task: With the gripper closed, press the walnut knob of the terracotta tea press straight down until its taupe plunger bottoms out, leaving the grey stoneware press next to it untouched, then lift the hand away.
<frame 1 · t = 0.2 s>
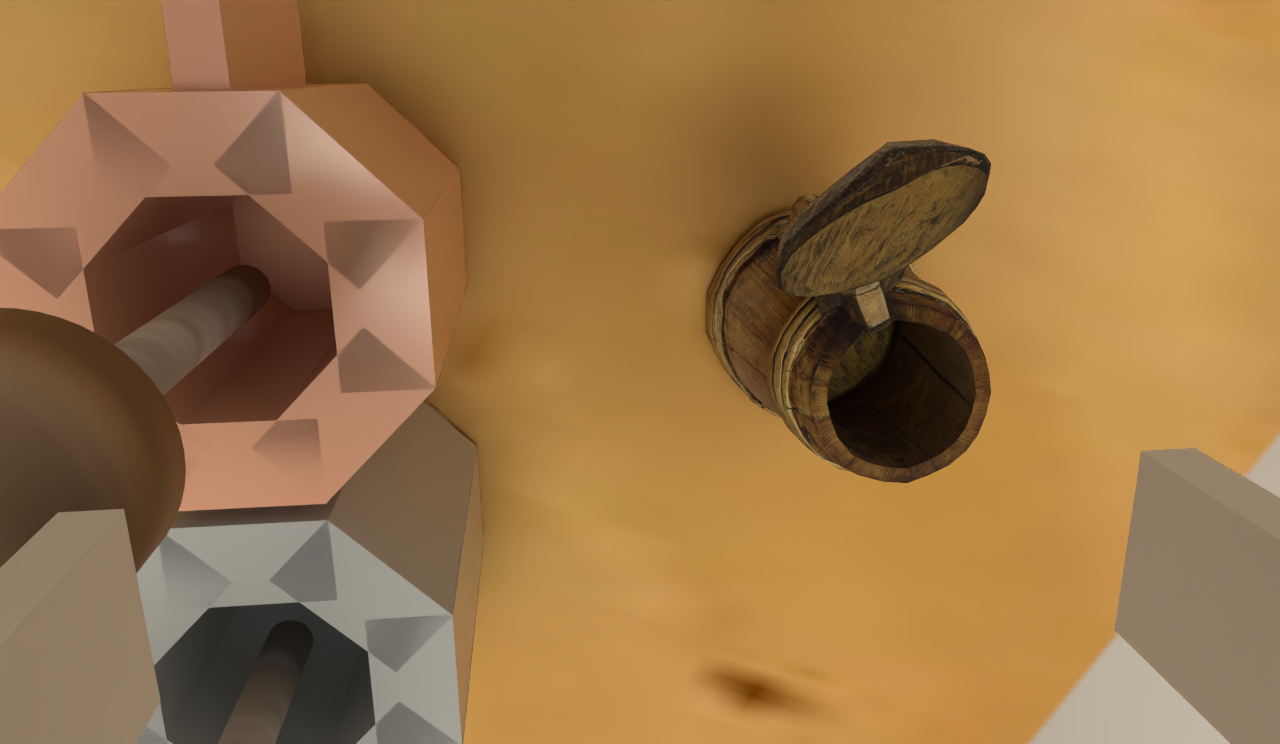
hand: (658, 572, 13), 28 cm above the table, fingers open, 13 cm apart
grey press: (350, 498, 42), on the table
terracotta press: (322, 229, 39), on the table
taupe plunger: (138, 370, 21), point 19 cm above the table, slide at 0.0 cm
wooden mug: (792, 264, 41), on the table
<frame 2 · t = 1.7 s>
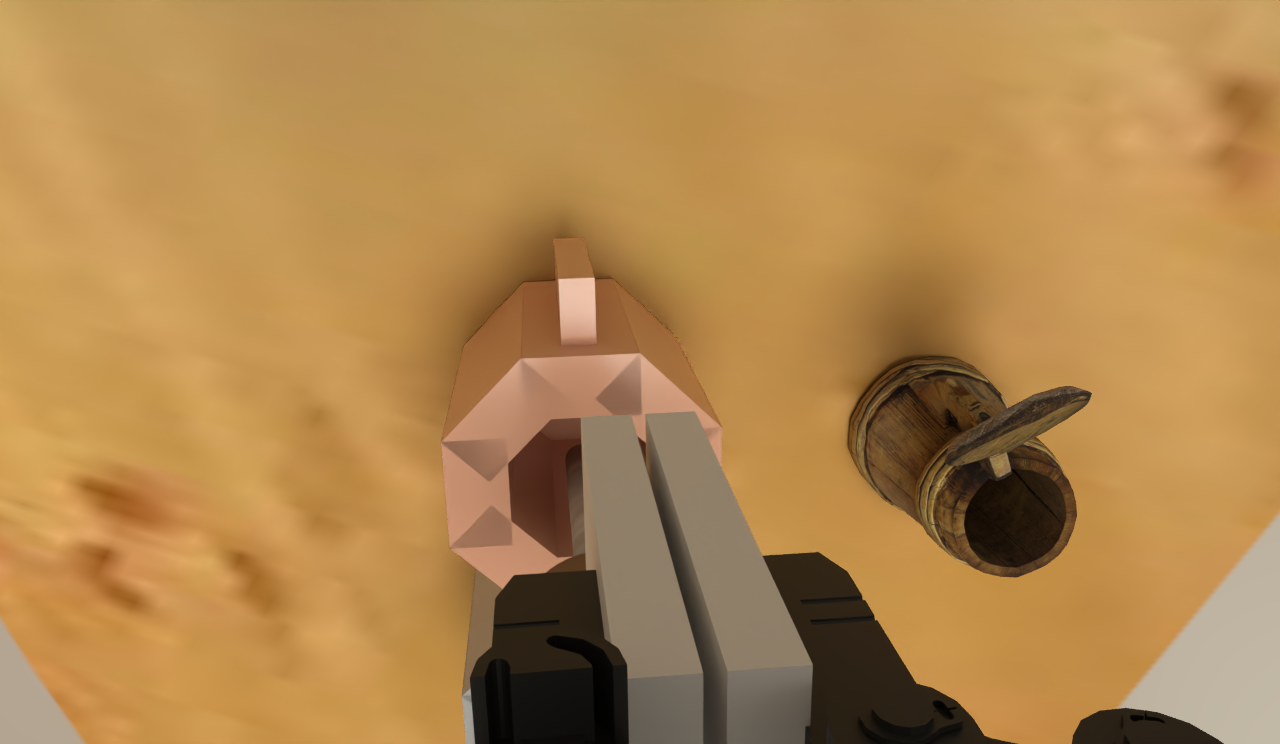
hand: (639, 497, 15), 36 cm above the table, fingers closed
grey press: (579, 571, 56), on the table
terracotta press: (571, 379, 53), on the table
taupe plunger: (592, 548, 34), point 19 cm above the table, slide at 0.0 cm
wooden mug: (913, 396, 55), on the table
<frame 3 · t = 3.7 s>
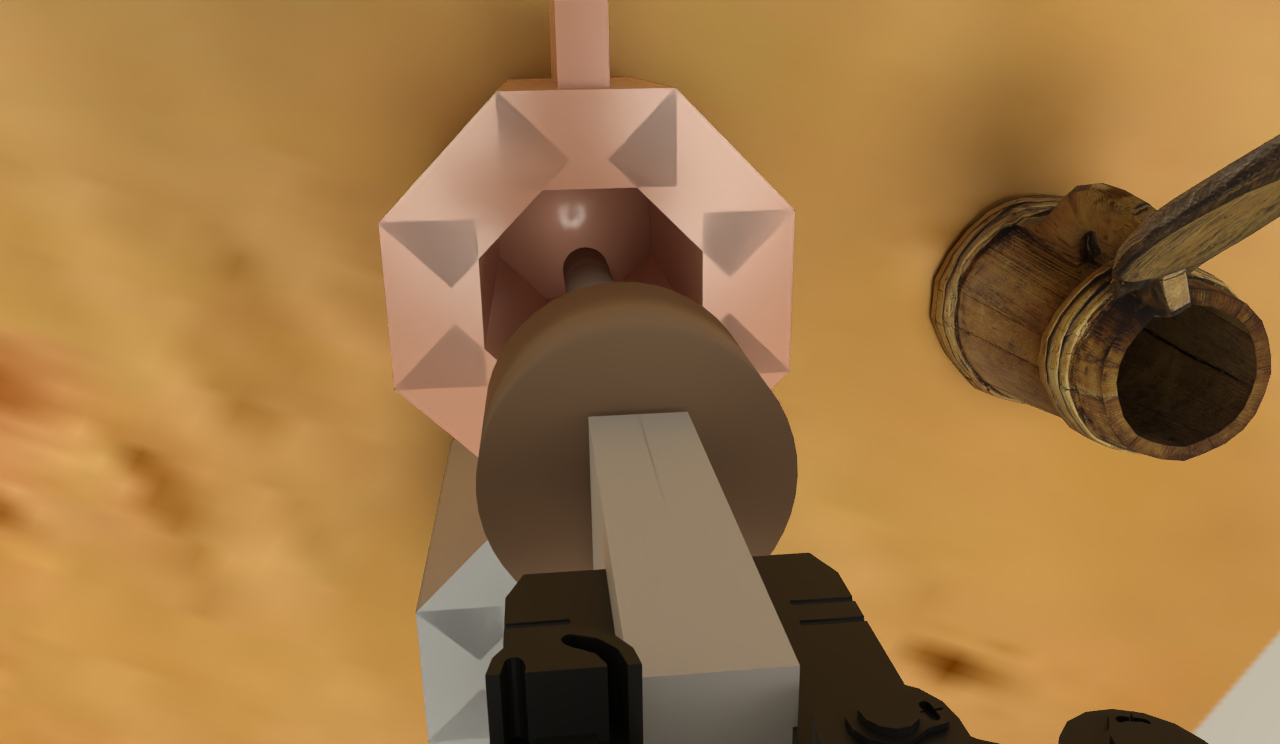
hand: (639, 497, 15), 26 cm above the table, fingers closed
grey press: (582, 479, 44), on the table
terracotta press: (573, 219, 40), on the table
taupe plunger: (603, 341, 23), point 18 cm above the table, slide at 1.1 cm, touching gripper
wooden mug: (1014, 250, 43), on the table
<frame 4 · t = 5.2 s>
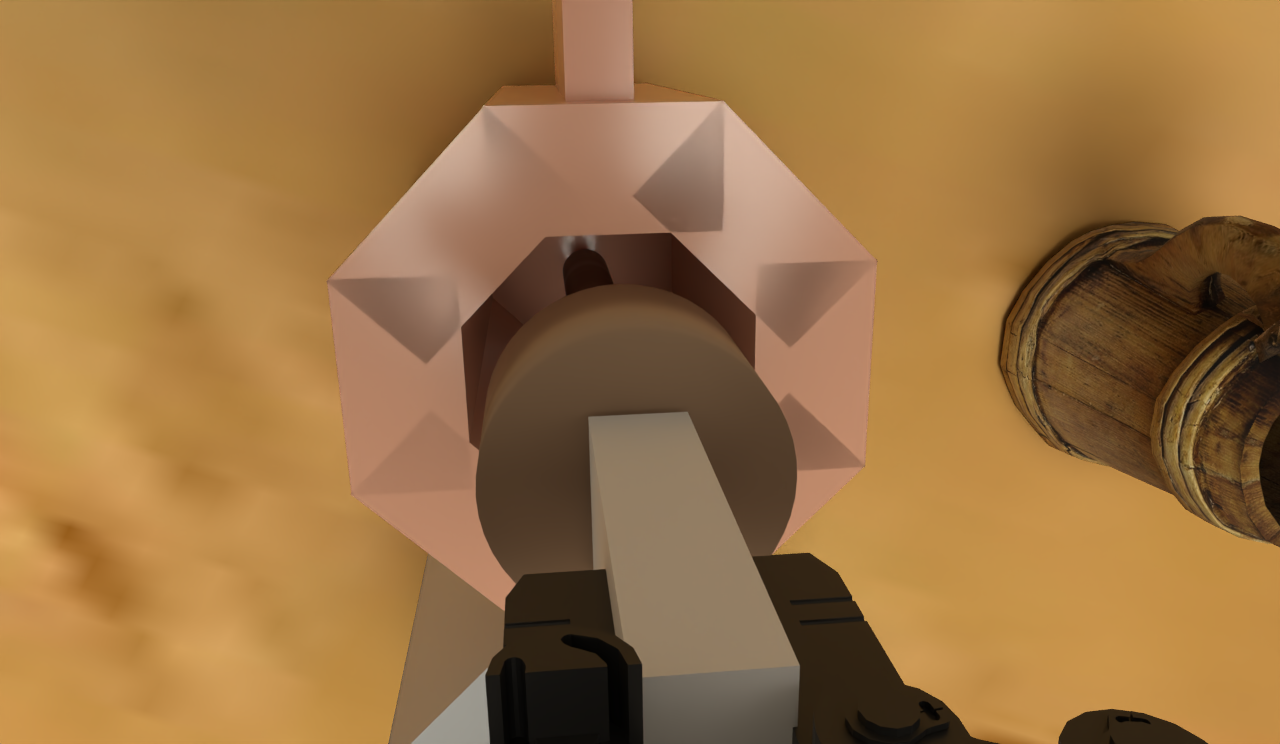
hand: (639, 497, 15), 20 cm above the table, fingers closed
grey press: (590, 553, 37), on the table
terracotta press: (580, 251, 34), on the table
taupe plunger: (603, 343, 23), point 11 cm above the table, slide at 7.8 cm, touching gripper
wooden mug: (1098, 286, 36), on the table
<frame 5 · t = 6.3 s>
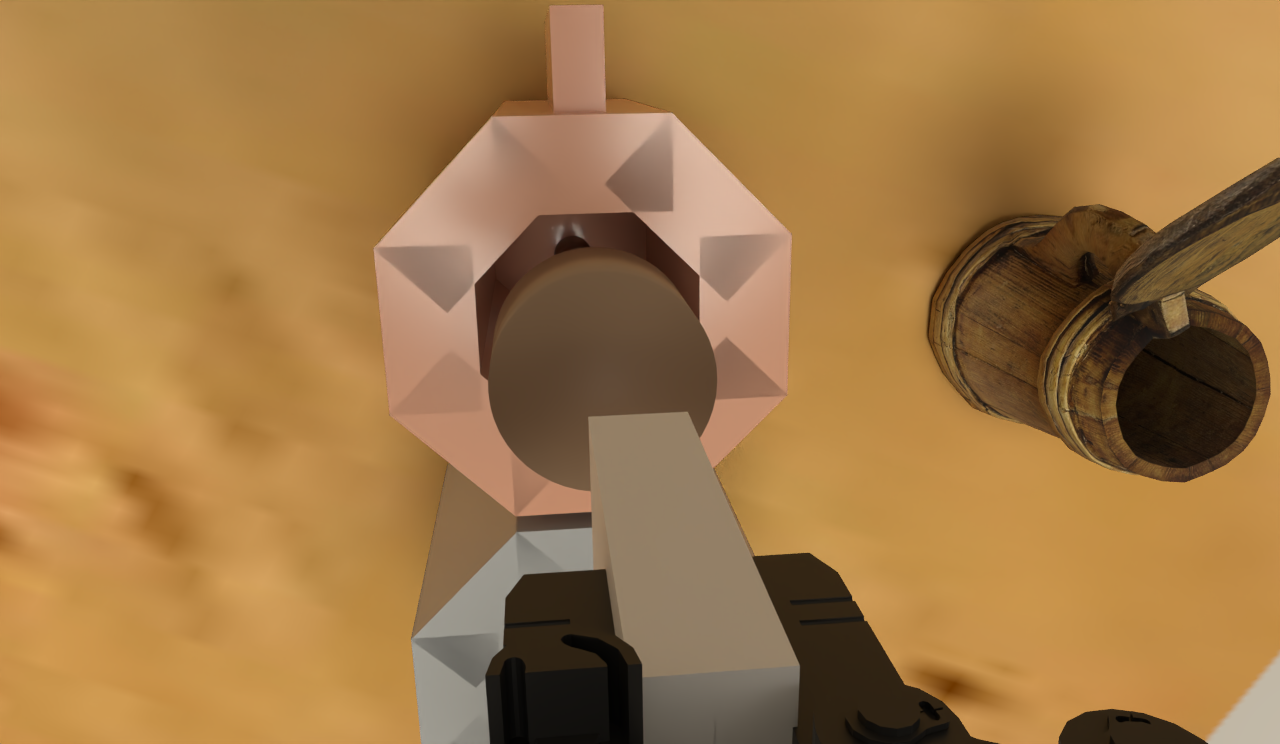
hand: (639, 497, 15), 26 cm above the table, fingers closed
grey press: (579, 501, 43), on the table
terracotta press: (569, 240, 40), on the table
taupe plunger: (584, 302, 29), point 11 cm above the table, slide at 7.8 cm
wooden mug: (1011, 270, 43), on the table
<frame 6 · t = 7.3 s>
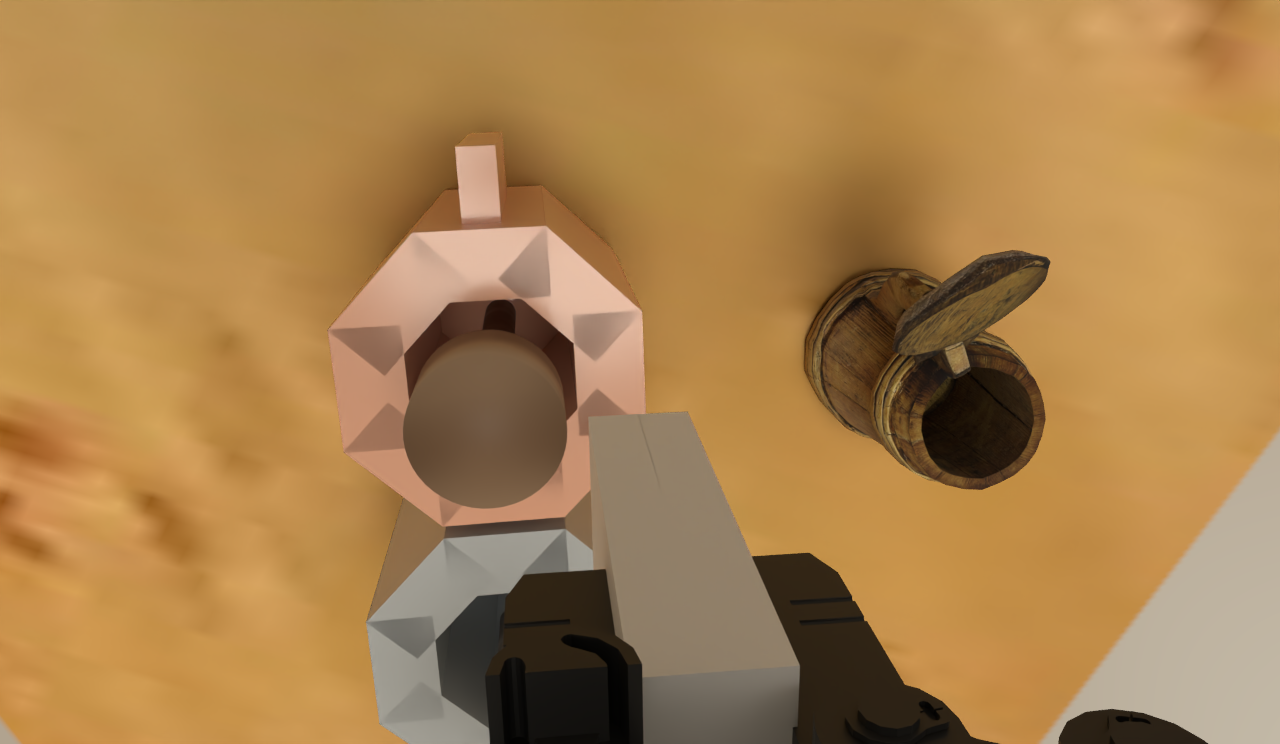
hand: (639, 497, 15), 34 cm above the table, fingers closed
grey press: (519, 511, 52), on the table
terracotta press: (502, 298, 49), on the table
taupe plunger: (494, 361, 38), point 11 cm above the table, slide at 7.8 cm
wooden mug: (873, 314, 51), on the table
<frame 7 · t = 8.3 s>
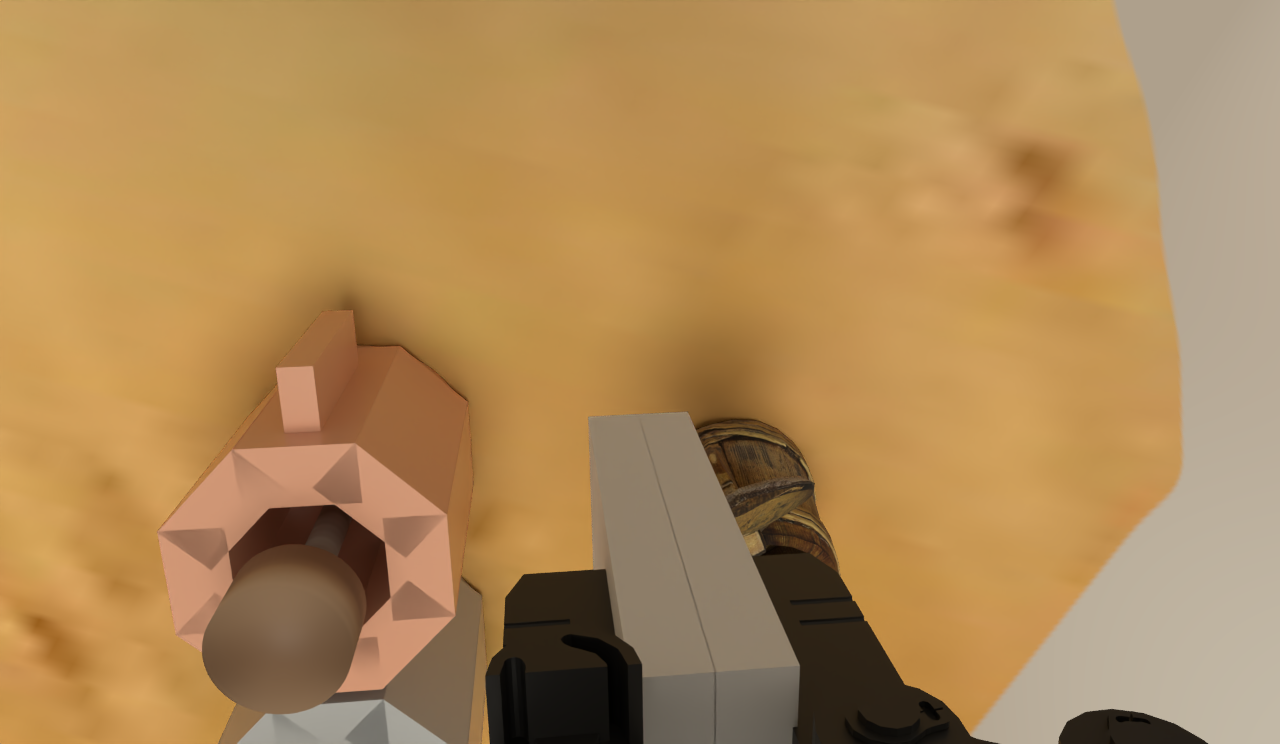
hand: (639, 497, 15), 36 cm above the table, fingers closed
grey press: (386, 633, 56), on the table
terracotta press: (366, 444, 52), on the table
taupe plunger: (324, 543, 42), point 11 cm above the table, slide at 7.8 cm
wooden mug: (718, 458, 55), on the table
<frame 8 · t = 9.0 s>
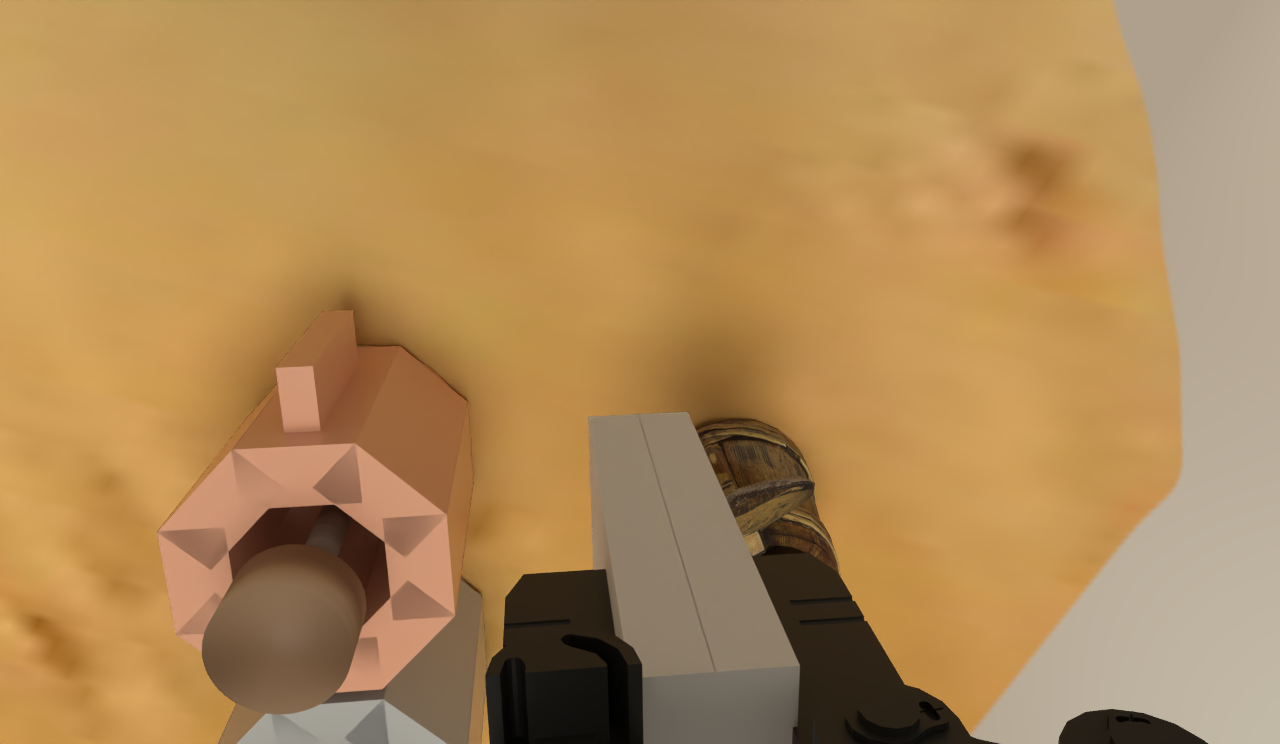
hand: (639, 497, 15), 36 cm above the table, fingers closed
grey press: (386, 633, 56), on the table
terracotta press: (366, 444, 52), on the table
taupe plunger: (324, 543, 42), point 11 cm above the table, slide at 7.8 cm
wooden mug: (718, 458, 55), on the table
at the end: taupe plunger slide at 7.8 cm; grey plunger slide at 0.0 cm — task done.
